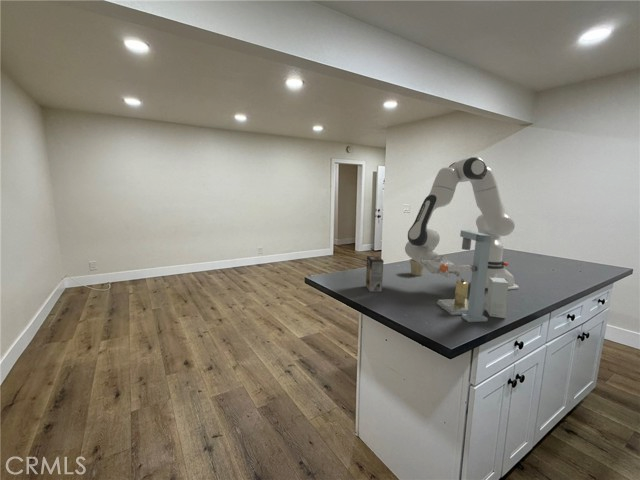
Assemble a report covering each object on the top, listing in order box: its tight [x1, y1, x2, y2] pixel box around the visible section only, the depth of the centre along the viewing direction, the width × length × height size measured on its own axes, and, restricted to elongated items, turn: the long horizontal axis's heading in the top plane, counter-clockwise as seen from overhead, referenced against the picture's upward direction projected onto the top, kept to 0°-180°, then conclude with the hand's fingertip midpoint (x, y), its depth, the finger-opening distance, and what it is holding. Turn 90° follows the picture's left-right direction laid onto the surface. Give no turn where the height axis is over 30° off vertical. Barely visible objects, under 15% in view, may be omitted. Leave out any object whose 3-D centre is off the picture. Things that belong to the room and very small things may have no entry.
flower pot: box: [409, 258, 424, 277], centre depth 180 cm, size 9×9×9 cm
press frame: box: [459, 229, 491, 323], centre depth 121 cm, size 8×15×34 cm, turn 7°
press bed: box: [437, 298, 485, 316], centre depth 129 cm, size 14×12×2 cm
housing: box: [454, 277, 469, 307], centre depth 128 cm, size 5×5×12 cm
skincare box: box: [485, 277, 509, 319], centre depth 123 cm, size 8×6×15 cm
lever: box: [439, 264, 477, 273], centre depth 114 cm, size 14×3×3 cm, turn 97°
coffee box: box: [365, 255, 384, 292], centre depth 151 cm, size 9×6×16 cm
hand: (454, 275), depth 138 cm, fingers open, 8 cm apart
